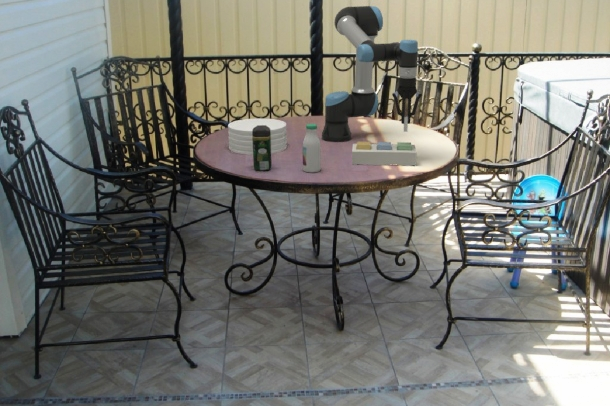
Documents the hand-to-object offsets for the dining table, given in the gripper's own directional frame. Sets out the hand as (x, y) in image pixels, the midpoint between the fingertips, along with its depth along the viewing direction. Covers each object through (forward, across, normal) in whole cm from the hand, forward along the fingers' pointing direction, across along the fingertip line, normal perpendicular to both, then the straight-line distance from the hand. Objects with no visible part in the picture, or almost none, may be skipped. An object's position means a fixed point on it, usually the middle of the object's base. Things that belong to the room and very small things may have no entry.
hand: (405, 130), depth 292 cm
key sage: (+10, 0, 0) cm, 10 cm away
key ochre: (+10, -18, 0) cm, 21 cm away
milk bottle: (+14, -40, -17) cm, 46 cm away
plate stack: (+14, -70, +21) cm, 74 cm away
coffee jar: (+14, -62, -15) cm, 65 cm away
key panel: (+14, -9, 0) cm, 17 cm away
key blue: (+10, -9, 0) cm, 14 cm away
